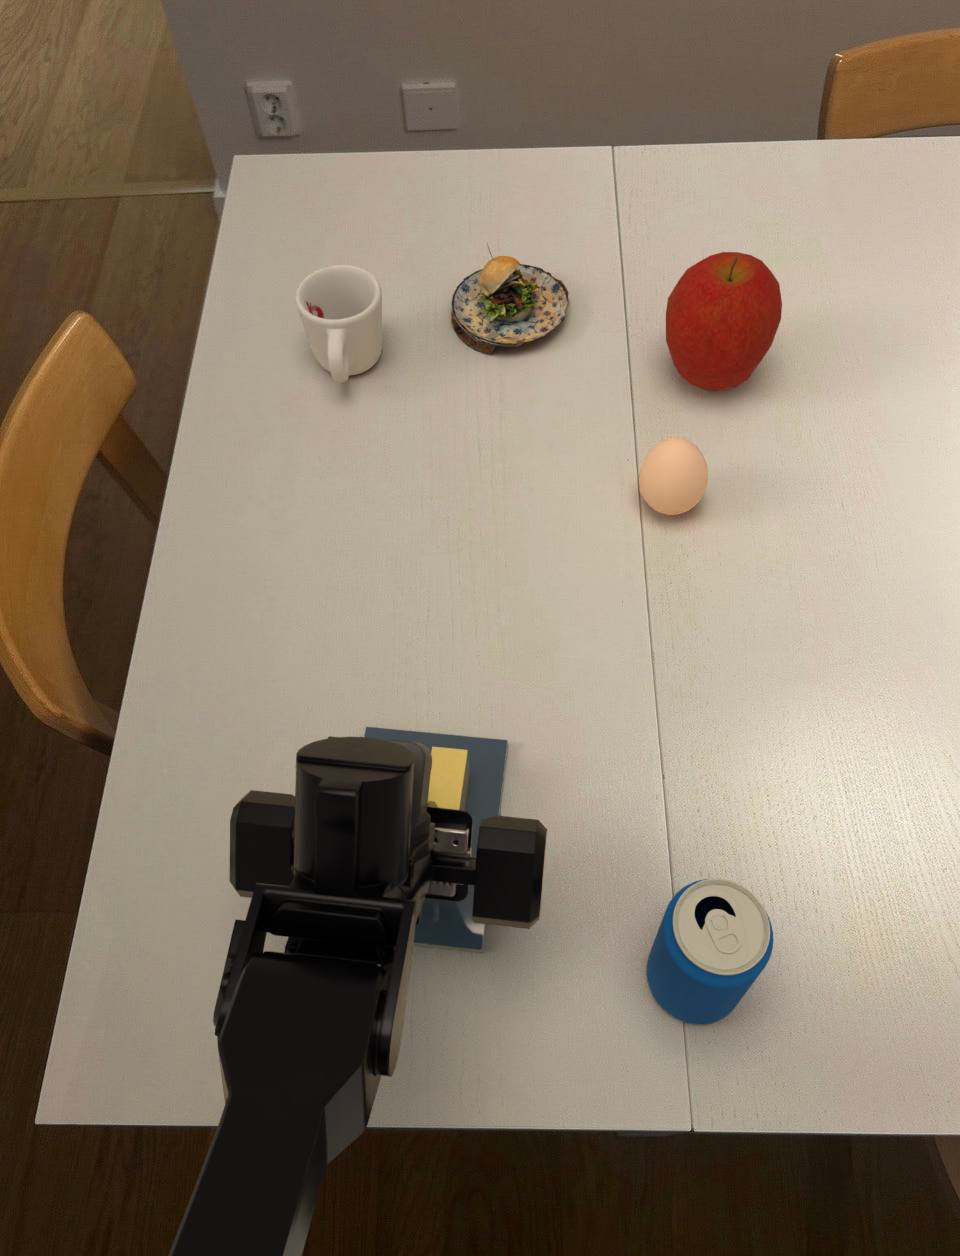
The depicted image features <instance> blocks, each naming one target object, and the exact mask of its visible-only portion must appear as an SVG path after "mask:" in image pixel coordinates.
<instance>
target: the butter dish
mask: <svg viewBox="0 0 960 1256" xmlns="http://www.w3.org/2000/svg"><path fill="white" fill-rule="evenodd" d="M363 737H369V738H376V739H387V740H397V741H407V742H415V743H420V744H423V745H425V746H426V747H427V748H428V749H429V750H430V752H431V755H432V768H431V774H430V784H429V794H428V802H429V801H435V803H436V804H437V806H438V807H439V808H445V809H455V810H464V811H466V812H468V813H469V814H470V815H471V817H472V821H473V831H472V846H471V848H472V850H471V857H475V858H476V853H477V843H478V835H479V827H480V823H481V820H482V819H484V818H488V817H492V816H495V815H497V816H500V814H501V813H500V812H501V803H502V797H503V796H502V795H503V787H504V779H505V772H506V771H505V770H506V762H507V754H508V748H509V747H508V746H509V743H508V742H509V741H508V740H507V739H500V738H488V737H479V736H468V735H459V734H458V735H457V734H447V733H437V732H436V733H435V732H426V731H416V730H406V729H394V728H384V727H374V726H365V729H364V735H363ZM473 898H474V885H469V890H468V894H467V897H466V898H465V899H464V900H462V901H448V900H439V899H430V898H424V901H423V904H422V917H421V920H420V923H419V925H418V924H415V937H414V946H417V947H426V948H433V949H443V950H450V951H458V952H459V951H461V952H470V953H478V954H483V953H484V947H485V937H486V928H487V924H479V923H473V918H472V913H473Z"/></svg>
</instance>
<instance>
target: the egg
mask: <svg viewBox="0 0 960 1256" xmlns="http://www.w3.org/2000/svg"><path fill="white" fill-rule="evenodd" d="M638 480H639V481H638V482H639V483H638V484H639V490H640V492H641V495H642V498H643V500H645V503H647V505H648V506H649V507H650V508H651V509H653V510H654V511H656V512H658V513H660V514H664V515H668V516H674V515H680V514H684V513H687V512H688V511H690V510H692V508H693V509H694V507H695V506H696V505H697V504H698V503H699V502H700V501H701V500H702V498H703V497H704V495H705V492H706V489H707V487H708V480H709V467H708V463H707V460H706V458H705V456H704V454H703V452H702V450H701V449H700V448H699V447H698V445H697V444H695V443H694V442H693V441H691V440H689V439H686V438H684V437H677V436H676V437H675V436H674V437H669V438H666V439H664V440H662V441H660V442H658V443H657V444H655V446H653V447H652V449H651V450H650V451H649V452H648V453H647V454H646V456H645V457H644V460H643V462H642V464H641V466H640V470H639V475H638Z"/></svg>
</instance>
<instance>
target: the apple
mask: <svg viewBox="0 0 960 1256" xmlns="http://www.w3.org/2000/svg"><path fill="white" fill-rule="evenodd" d="M782 311H783V300H782V293H781V287H780V282H779V281H778V279H777V278H776V276H775V274H774V273H773V271H772V270H771V269H770V268H769V267H768V265H766V263H764V262H763V260H761V259H759V258H758V257H755V256H754V255H752V254H748V253H743V252H738V251H722V252H719V253H713V254H710V255H708V256H707V257H705V258H703V259H702V260H699V261H698V262H696V263H694V264H693V265H691V266H690V267H688V268H686V270H685V271H684V273H683V274H682V275H681V276H680V278H679V279H678V281H677V283H676V284H675V286H674V287H673V289H672V290H671V292H670V294H669V296H668V297H667V302H666V310H665V343H666V346H667V349H668V352H669V354H670V358H671V361H672V364H673V366H674V368H675V369H676V371H677V372H678V374H679V376H680V377H681V378H683V380H685V381H686V382H688V384H690V385H692V386H695V387H697V388H700V389H703V390H705V391H715V392H717V391H724V390H729V389H733V388H734V389H735V388H738V387H739V386H741V385H742V384H744V383H745V382H746V381H748V380H749V379H750V377H751V376H752V375H753V373H754V371H756V369H757V367H758V366H759V365H760V363H761V362H762V361H763V359H764V358H765V356H766V355H767V354H768V352H769V350H770V349H771V348H772V346H773V343H774V340H775V337H776V334H777V332H778V329H779V326H780V324H781V320H782Z"/></svg>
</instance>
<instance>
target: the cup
mask: <svg viewBox="0 0 960 1256" xmlns="http://www.w3.org/2000/svg"><path fill="white" fill-rule="evenodd" d="M295 306H296V309H297V312H298V314H299V317H300V320H301V322H302V326H303V328H304V331H305V334H306V336H307V339H308V342H309V344H310V347H311V350H312V352H313V355H314V358H315V359H316V361H317V362H318V364H319V365H320V366H321V367H322V368H323V369H324V370H326V371H327V372H329V373H330V375H331V378H332V380H333V382H336V383H346V382H347V381H348V379H349V377H350V376H356V375H359V374H362V373H365V372H366V371H368V370H370V369H371V368H372V367H374V365H376V363H377V362H378V361H379V359H380V357H381V354H382V350H383V293H382V287H381V284H380V281H379V280H378V278H376V276H375V275H373V274H372V273H371V272H370V271H368V270H367V269H364V268H362V267H359V266H356V265H350V264H335V265H334V264H333V265H329V266H325V267H322V268H319V269H317V270H315V271H313V272H312V273H310V274H309V275H306V277H305V278H304V279H302V281H301V282H300V283H299V285H298V287H297V288H296V292H295Z"/></svg>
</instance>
